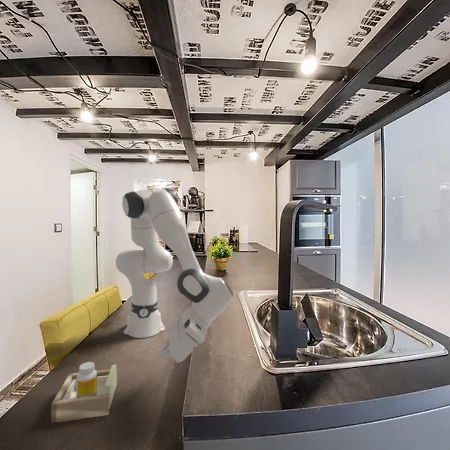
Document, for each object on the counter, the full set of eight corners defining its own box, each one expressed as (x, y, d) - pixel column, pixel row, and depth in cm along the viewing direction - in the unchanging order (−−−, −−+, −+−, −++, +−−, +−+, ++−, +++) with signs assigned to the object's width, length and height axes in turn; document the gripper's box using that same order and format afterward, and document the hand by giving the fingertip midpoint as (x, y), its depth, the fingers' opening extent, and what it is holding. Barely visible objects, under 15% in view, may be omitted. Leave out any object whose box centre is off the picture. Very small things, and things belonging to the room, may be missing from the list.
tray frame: (69, 389, 83) (69, 373, 83) (117, 383, 86) (117, 368, 86) (51, 423, 69) (51, 404, 69) (108, 414, 73) (108, 397, 72)
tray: (73, 390, 82) (73, 368, 82) (116, 385, 85) (116, 364, 84) (60, 416, 71) (60, 391, 71) (109, 409, 74) (109, 385, 74)
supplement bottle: (73, 397, 78) (73, 365, 77) (92, 389, 82) (92, 358, 81) (80, 406, 74) (80, 373, 74) (99, 397, 78) (99, 365, 78)
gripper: (184, 305, 94) (155, 334, 92) (189, 328, 74) (153, 367, 72) (196, 316, 95) (168, 345, 93) (205, 343, 75) (170, 381, 73)
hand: (162, 355), depth 82 cm, fingers closed
